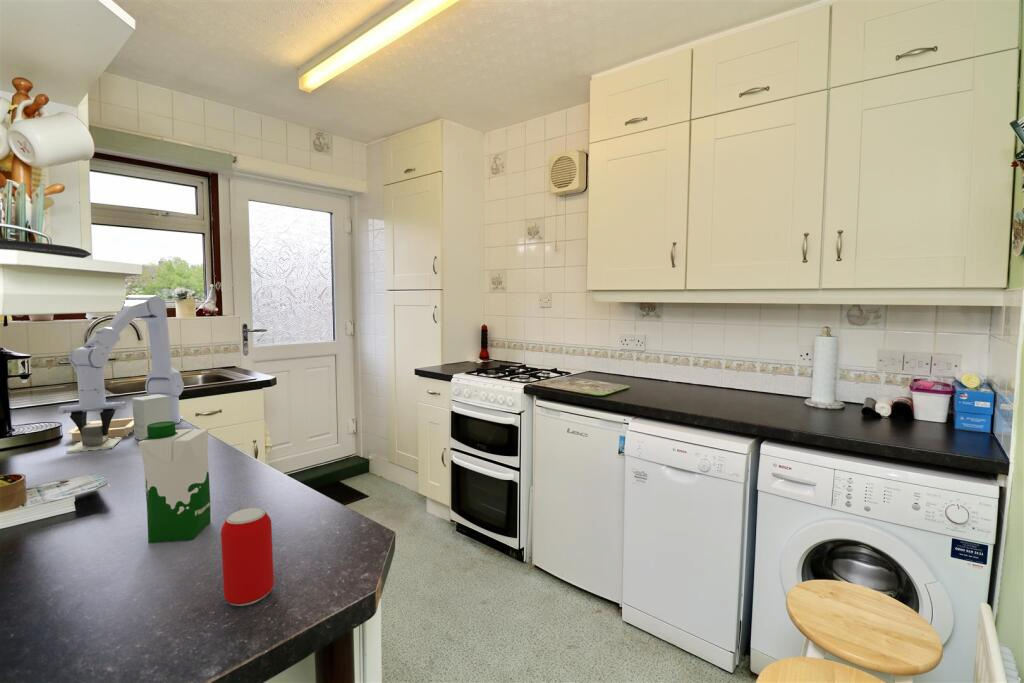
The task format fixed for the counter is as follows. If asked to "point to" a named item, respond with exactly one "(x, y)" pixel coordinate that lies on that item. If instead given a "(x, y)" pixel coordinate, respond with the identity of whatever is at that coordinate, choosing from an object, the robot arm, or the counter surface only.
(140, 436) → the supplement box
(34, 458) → the counter surface
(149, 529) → the milk carton
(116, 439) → the tile
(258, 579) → the beverage can
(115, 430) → the wooden tray
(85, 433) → the block
